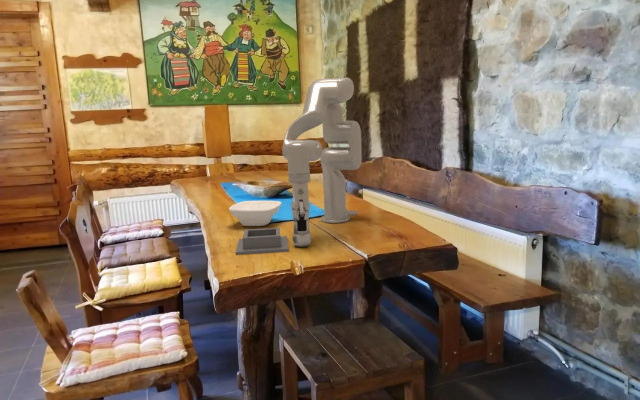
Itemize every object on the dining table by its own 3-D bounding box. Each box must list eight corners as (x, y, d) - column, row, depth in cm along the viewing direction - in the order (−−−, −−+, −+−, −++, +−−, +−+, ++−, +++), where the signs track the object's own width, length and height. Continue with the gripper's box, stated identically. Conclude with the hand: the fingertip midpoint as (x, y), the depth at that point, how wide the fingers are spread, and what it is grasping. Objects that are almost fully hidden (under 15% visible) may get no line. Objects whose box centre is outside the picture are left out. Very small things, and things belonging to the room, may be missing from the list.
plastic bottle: (305, 249, 166) (302, 192, 162) (289, 247, 170) (286, 191, 166) (315, 244, 171) (313, 189, 167) (299, 242, 175) (297, 188, 171)
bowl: (272, 231, 193) (271, 210, 191) (224, 230, 197) (223, 210, 195) (286, 219, 213) (285, 200, 211) (242, 218, 217) (241, 200, 215)
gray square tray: (286, 238, 181) (286, 225, 180) (288, 251, 164) (287, 237, 163) (238, 241, 179) (238, 228, 178) (235, 254, 163) (234, 240, 162)
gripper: (312, 181, 158) (314, 234, 161) (308, 174, 174) (310, 222, 178) (289, 182, 157) (292, 235, 160) (287, 175, 174) (289, 223, 177)
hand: (301, 228), depth 169 cm, fingers closed on plastic bottle, 5 cm apart
